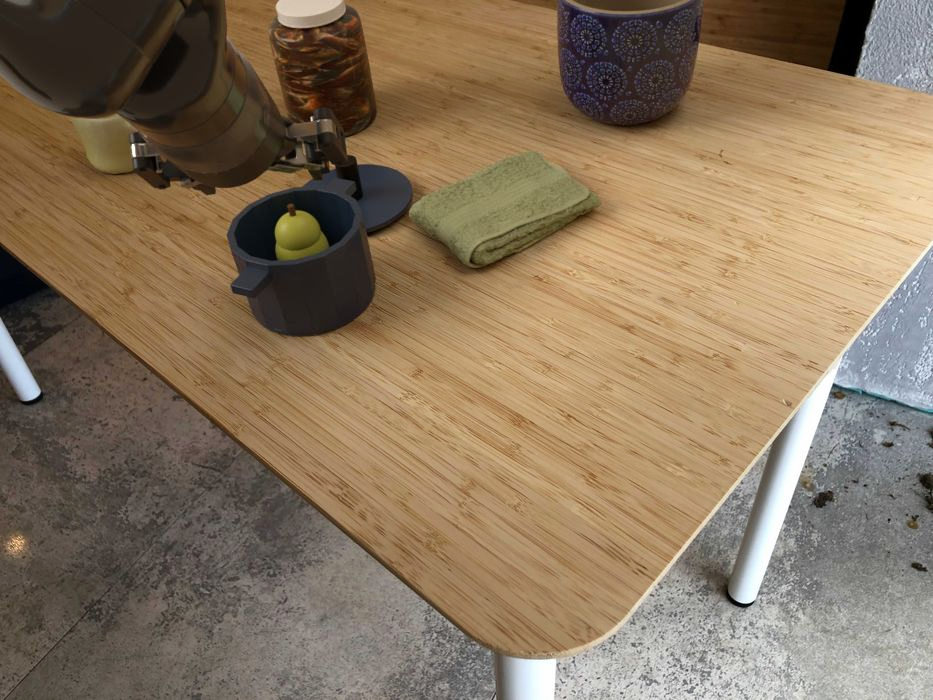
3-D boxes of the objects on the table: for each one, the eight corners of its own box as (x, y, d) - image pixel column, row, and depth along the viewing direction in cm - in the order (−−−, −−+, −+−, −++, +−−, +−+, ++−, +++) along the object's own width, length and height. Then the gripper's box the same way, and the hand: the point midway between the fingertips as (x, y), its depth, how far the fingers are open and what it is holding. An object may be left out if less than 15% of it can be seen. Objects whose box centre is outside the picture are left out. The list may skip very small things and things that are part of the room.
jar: (396, 108, 111) (379, -9, 101) (336, 149, 104) (310, 29, 94) (331, 88, 117) (308, -24, 106) (270, 126, 110) (239, 11, 100)
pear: (278, 300, 83) (252, 215, 76) (305, 270, 86) (282, 186, 79) (321, 311, 81) (298, 225, 74) (347, 280, 84) (328, 195, 78)
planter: (632, 154, 98) (639, 27, 88) (530, 109, 108) (526, -10, 97) (720, 100, 105) (736, -23, 95) (618, 63, 115) (622, -53, 105)
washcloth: (607, 210, 90) (608, 184, 88) (473, 280, 84) (471, 253, 81) (530, 163, 98) (530, 138, 96) (403, 222, 92) (399, 197, 90)
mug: (57, 147, 107) (55, 74, 100) (137, 140, 113) (140, 70, 107) (97, 202, 101) (98, 127, 95) (179, 190, 107) (185, 120, 101)
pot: (209, 337, 81) (181, 266, 75) (309, 232, 92) (291, 163, 86) (319, 368, 76) (298, 296, 70) (409, 254, 88) (398, 183, 82)
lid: (271, 227, 93) (258, 183, 89) (334, 165, 102) (324, 122, 98) (377, 250, 88) (368, 205, 85) (434, 183, 97) (428, 138, 93)
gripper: (315, 34, 51) (347, 116, 67) (78, 64, 51) (167, 140, 67) (332, 156, 51) (359, 209, 67) (94, 187, 51) (179, 233, 67)
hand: (263, 175), depth 67 cm, fingers open, 8 cm apart
